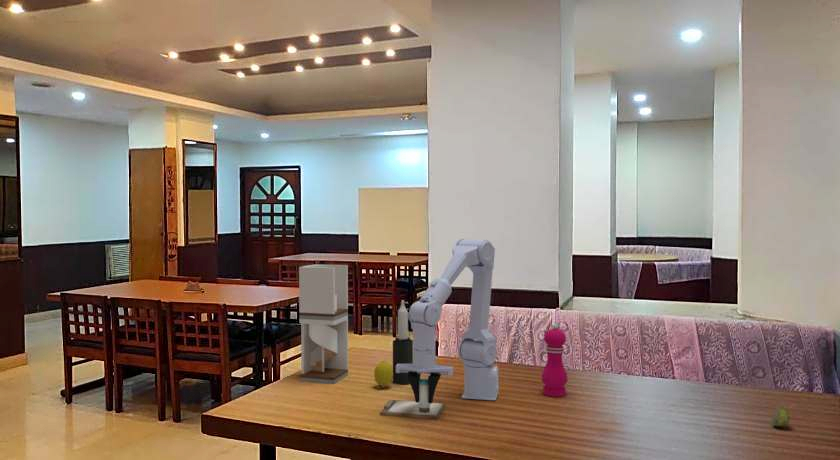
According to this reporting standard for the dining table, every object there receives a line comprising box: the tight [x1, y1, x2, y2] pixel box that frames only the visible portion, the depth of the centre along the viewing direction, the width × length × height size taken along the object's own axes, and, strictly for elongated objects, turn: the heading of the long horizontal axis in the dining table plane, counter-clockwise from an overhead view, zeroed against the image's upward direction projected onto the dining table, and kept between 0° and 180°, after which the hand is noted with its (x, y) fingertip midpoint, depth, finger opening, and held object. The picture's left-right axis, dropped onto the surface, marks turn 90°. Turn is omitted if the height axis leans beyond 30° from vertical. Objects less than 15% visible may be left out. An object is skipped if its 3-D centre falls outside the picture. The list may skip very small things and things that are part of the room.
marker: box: [418, 378, 430, 412], centre depth 158 cm, size 3×3×8 cm
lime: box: [770, 405, 790, 428], centre depth 148 cm, size 4×5×5 cm
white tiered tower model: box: [298, 264, 349, 385], centre depth 192 cm, size 11×11×35 cm
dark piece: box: [392, 299, 413, 386], centre depth 188 cm, size 5×5×25 cm
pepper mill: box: [541, 323, 568, 398], centre depth 175 cm, size 7×7×20 cm
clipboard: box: [379, 399, 447, 420], centre depth 161 cm, size 15×11×1 cm
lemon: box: [373, 360, 393, 389], centre depth 182 cm, size 6×6×8 cm
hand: (424, 401), depth 158 cm, fingers closed on marker, 3 cm apart
